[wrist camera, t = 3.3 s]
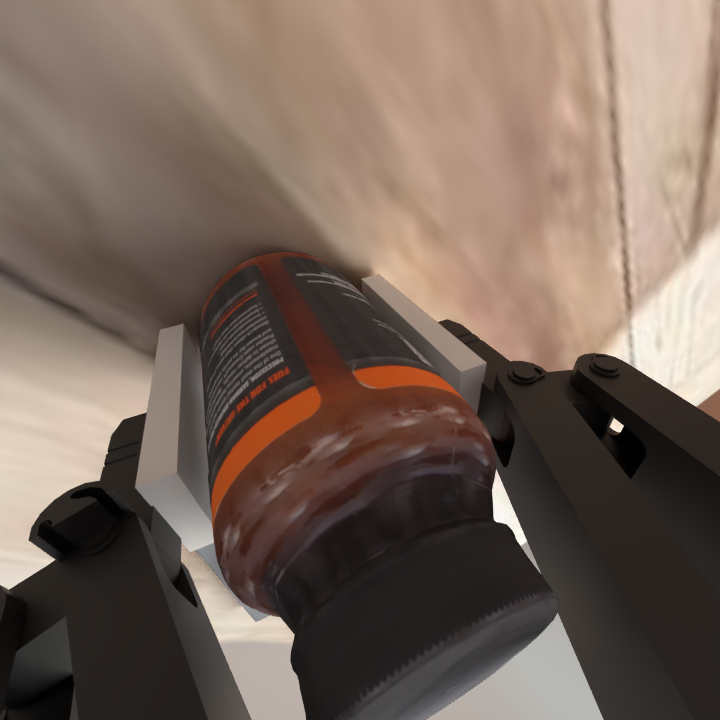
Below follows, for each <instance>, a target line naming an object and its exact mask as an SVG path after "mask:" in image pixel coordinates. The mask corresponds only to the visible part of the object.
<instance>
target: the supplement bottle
mask: <svg viewBox="0 0 720 720" xmlns="http://www.w3.org/2000/svg"><path fill="white" fill-rule="evenodd" d="M200 350H201V363H202V380H203V395H204V412H205V428H206V443H207V458H208V470H209V473H208V484H209V497H210V507H211V512H212V528H213V538H214V545H215V551H216V557H217V562H218V564H219V567H220V570H221V573H222V575H223V578H224V580H225V582H226V583H227V585H228V587H229V588H230V589H231V590H232V592H233V593H234V594H235V595H236V597H238V598H239V599H240V600H241V602H242V603H244V604H246V605H247V606H249V607H250V608H253V609H256V610H258V611H259V612H262V613H264V614H268V615H272V616H276V617H280V618H281V619H282V620H283V621H284V622H285V623H286V624H287V626H288V627H289V628H290V629H291V631H292V632H293V633H294V634H295V636H294V642H293V646H292V650H291V664H292V668H293V670H294V672H295V673H296V674H297V676H298V679H299V685H300V691H301V695H302V700H303V704H304V709H305V713H306V720H426V719H428V718H429V717H431V716H432V715H434V714H436V713H437V712H439V711H440V710H442V709H443V708H445V707H446V706H448V705H449V704H451V703H452V702H454V701H455V700H457V699H458V698H460V697H461V696H463V695H464V694H465V693H467V692H468V691H470V690H471V689H473V688H474V687H475V686H477V685H478V684H480V683H481V682H483V680H485V679H487V678H488V677H490V676H491V675H492V674H494V673H495V672H496V671H497V670H499V669H500V668H501V667H502V666H503V665H505V664H506V663H507V662H508V661H509V660H511V659H512V658H513V657H514V656H516V655H517V654H518V653H519V652H520V651H522V650H523V649H524V648H526V647H527V646H528V645H529V644H530V643H531V642H532V641H533V640H534V639H536V638H537V637H538V636H539V635H540V634H541V633H542V632H543V631H544V630H545V628H546V627H547V626H548V625H549V624H550V623H551V622H552V621H553V620H554V618H555V616H556V614H557V613H558V611H559V603H560V601H559V599H558V597H557V596H556V594H555V593H554V591H553V590H552V589H551V587H550V586H549V584H548V583H547V582H546V580H545V579H544V577H543V576H542V575H541V574H540V573H539V571H538V570H537V569H536V567H535V566H534V565H533V563H532V562H531V561H530V559H529V558H528V557H527V555H526V554H525V552H524V551H523V549H522V548H521V546H520V545H519V543H518V542H517V540H516V538H515V535H514V533H513V531H512V530H511V529H510V527H509V526H508V525H507V524H503V523H497V522H495V521H494V518H493V499H492V487H493V483H494V478H495V472H496V461H495V449H494V446H493V443H492V439H491V436H490V434H489V432H488V429H487V428H486V426H485V425H484V423H483V422H482V421H481V419H480V418H479V417H478V416H477V414H476V413H475V412H474V410H473V409H472V408H471V406H470V405H469V404H468V403H467V402H466V401H465V400H464V399H463V398H462V397H461V396H460V394H459V393H458V392H457V391H456V390H455V389H454V388H453V387H452V386H451V385H450V384H449V383H447V381H446V380H445V379H444V378H443V377H442V376H441V375H440V374H439V373H438V371H437V370H435V369H434V368H433V366H432V365H431V364H430V363H429V362H428V361H427V360H426V359H425V358H424V357H423V356H422V355H421V354H420V353H419V352H418V351H417V350H416V349H415V348H414V347H413V346H412V345H411V344H410V343H409V342H408V341H407V340H406V339H405V338H404V337H403V336H402V335H401V333H400V332H399V331H398V330H397V329H396V328H395V327H394V326H393V325H392V324H391V323H390V322H389V321H388V320H387V319H386V318H385V317H384V316H383V315H382V314H381V313H380V312H379V311H378V310H377V309H376V308H375V307H374V306H373V305H372V304H371V303H370V302H369V301H368V300H367V299H366V298H365V297H364V296H363V295H362V294H361V293H360V292H359V291H358V290H357V289H356V288H355V287H354V286H353V285H352V284H351V283H350V282H349V281H348V279H347V278H346V277H345V276H343V275H342V274H341V273H340V272H338V271H337V270H336V269H335V268H334V267H332V266H331V265H329V264H327V263H325V262H324V261H322V260H320V259H318V258H315V257H313V256H310V255H307V254H303V253H297V252H275V253H268V254H264V255H260V256H256V257H254V258H251V259H248V260H246V261H244V262H242V263H240V264H239V265H237V266H236V267H234V268H233V269H232V270H230V271H229V272H228V273H227V274H226V275H225V276H223V277H222V279H221V280H220V281H219V282H218V283H217V284H216V286H215V287H214V289H213V290H212V291H211V293H210V295H209V297H208V299H207V301H206V303H205V305H204V308H203V311H202V317H201V325H200Z"/></svg>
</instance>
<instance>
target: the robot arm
mask: <svg viewBox="0 0 720 720" xmlns="http://www.w3.org/2000/svg"><path fill="white" fill-rule="evenodd" d="M361 281H362V292H363V296H364V297H365V298H366V299H367V300H368V301H369V302H370V303H371V304H372V305H373V306H374V307H375V308H376V309H377V310H378V311H379V312H380V313H381V314H382V315H383V316H384V317H385V318H386V319H387V320H388V321H389V322H390V323H391V324H392V325H393V326H394V327H395V328H396V329H397V330H398V331H399V332H400V333H401V335H402V336H403V337H404V338H405V339H406V340H407V341H408V342H409V343H410V344H411V345H412V346H413V347H414V348H415V349H416V350H417V351H418V352H419V353H420V354H421V355H422V356H423V357H424V358H425V359H426V360H427V361H428V362H429V363H430V364H431V365H432V366H433V368H434V369H435V370H437V371H438V373H439V374H440V375H441V376H442V377H443V378H444V379H445V380H446V381H447V383H449V384H450V385H451V386H452V387H453V388H454V389H455V390H456V391H457V392H458V393H459V394H460V396H461V397H462V398H463V399H464V400H465V401H466V402H467V403H468V404H469V405H470V406H471V408H472V409H473V410H474V412H475V413H476V414H477V416H478V417H479V418H480V419H481V421H482V422H483V423H484V425H485V426H486V428H487V429H488V432H489V434H490V436H491V439H492V443H493V446H494V449H495V461H496V469H497V471H498V474H499V476H500V478H501V481H502V483H503V485H504V488H505V490H506V492H507V495H508V497H509V499H510V502H511V504H512V506H513V509H514V511H515V513H516V516H517V518H518V520H519V523H520V525H521V527H522V530H523V532H524V534H525V537H526V539H527V542H528V544H529V546H530V549H531V551H532V553H533V556H534V558H535V560H536V563H537V565H538V567H539V569H540V572H541V574H542V576H543V577H544V579H545V580H546V582H547V583H548V584H549V586H550V587H551V589H552V590H553V591H554V593H555V594H556V596H557V597H558V599H559V601H560V603H559V611H558V614H559V616H560V618H561V621H562V623H563V626H564V628H565V630H566V633H567V635H568V637H569V639H570V642H571V644H572V647H573V649H574V651H575V654H576V656H577V658H578V661H579V663H580V665H581V668H582V670H583V672H584V675H585V677H586V679H587V682H588V684H589V686H590V689H591V691H592V693H593V696H594V698H595V700H596V703H597V705H598V707H599V710H600V712H601V714H602V717H603V719H604V720H720V422H719V421H717V420H716V419H714V418H712V417H711V416H709V415H708V414H706V413H705V412H703V411H702V410H700V409H698V408H697V407H695V406H694V405H692V404H691V403H689V402H687V401H686V400H684V399H683V398H681V397H679V396H678V395H676V394H675V393H673V392H672V391H670V390H668V389H667V388H665V387H664V386H662V385H661V384H659V383H657V382H656V381H654V380H653V379H651V378H649V377H648V376H646V375H645V374H643V373H642V372H640V371H638V370H637V369H635V368H634V367H632V366H631V365H629V364H627V363H626V362H624V361H622V360H620V359H618V358H616V357H613V356H609V355H606V354H596V353H592V354H584V355H582V356H580V357H578V359H577V361H576V363H575V365H574V368H573V370H566V371H555V372H546V371H545V370H544V369H543V368H541V367H539V366H537V365H535V364H533V363H529V362H524V361H511V362H510V361H509V360H507V359H506V358H505V357H503V356H502V355H501V354H500V353H498V352H497V351H496V350H494V349H493V348H492V347H490V346H489V345H488V344H486V343H485V342H484V341H482V340H480V338H478V337H477V336H476V335H474V334H472V333H471V332H470V331H469V330H468V329H467V328H465V327H464V326H463V325H461V324H459V323H456V322H453V321H450V320H448V319H447V320H444V321H440V322H436V321H435V320H434V319H433V318H432V317H430V316H429V315H428V314H427V313H426V312H424V311H423V310H422V309H421V308H419V307H418V306H417V305H416V304H415V303H413V302H412V301H411V300H410V299H408V298H407V297H406V296H405V295H404V294H402V293H401V292H400V291H399V290H398V289H396V288H395V287H394V286H393V285H391V284H390V283H389V282H388V281H387V280H385V279H384V278H383V277H382V276H381V275H379V274H377V275H373V276H369V277H365V278H361ZM614 418H615V419H616V420H618V421H619V422H620V423H621V424H623V425H624V427H623V429H622V431H621V432H620V433H619V432H616V431H614V430H612V429H611V428H610V425H611V423H612V421H613V419H614ZM104 465H105V467H103V470H102V474H101V478H100V481H95V482H89V483H84V484H82V485H80V486H77V487H75V488H73V489H70V490H69V491H67V492H66V493H64V494H63V495H61V496H60V497H58V498H57V499H55V500H54V501H53V502H52V503H51V504H50V505H49V506H48V507H47V508H46V509H45V510H44V511H43V512H42V513H41V514H40V515H39V517H38V518H37V520H36V521H35V523H34V524H33V526H32V528H31V532H30V537H29V541H30V542H32V543H33V544H35V545H36V546H37V547H39V548H40V549H42V550H43V551H44V552H46V553H47V554H49V555H50V556H51V557H53V558H54V559H56V560H55V561H53V562H52V563H50V564H49V565H48V566H46V567H44V568H43V569H41V570H40V571H38V572H36V573H35V574H33V575H32V576H30V577H29V578H27V579H25V580H24V581H22V582H21V583H19V584H17V585H16V586H14V587H13V588H11V589H10V590H8V589H6V588H5V587H3V586H1V585H0V720H251V717H250V715H249V713H248V710H247V708H246V706H245V703H244V701H243V699H242V696H241V694H240V691H239V689H238V687H237V684H236V682H235V680H234V677H233V675H232V672H231V670H230V668H229V665H228V663H227V661H226V658H225V656H224V654H223V651H222V649H221V646H220V644H219V642H218V639H217V637H216V635H215V632H214V630H213V628H212V625H211V623H210V620H209V618H208V616H207V613H206V611H205V609H204V606H203V604H202V602H201V599H200V597H199V594H198V592H197V590H196V587H195V585H194V583H193V580H192V578H191V576H190V573H189V571H188V569H187V568H186V567H185V565H184V564H183V563H182V562H181V542H182V543H183V545H184V546H185V547H186V548H187V549H188V550H189V552H192V551H195V550H197V549H200V548H202V547H205V546H207V545H209V544H212V543H214V538H213V528H212V512H211V507H210V497H209V484H208V473H209V470H208V458H207V443H206V428H205V412H204V395H203V380H202V363H201V360H200V358H199V356H198V354H197V351H196V349H195V347H194V345H193V343H192V341H191V339H190V336H189V334H188V332H187V330H186V328H185V326H184V324H180V325H176V326H172V327H168V328H164V329H160V333H159V339H158V345H157V352H156V358H155V364H154V371H153V377H152V383H151V390H150V396H149V402H148V408H147V413H144V414H140V415H137V416H134V417H131V418H127V419H124V420H123V421H122V422H121V424H120V425H119V426H118V428H117V429H116V430H115V432H114V433H113V434H112V436H111V440H110V443H109V447H108V454H107V455H106V459H105V463H104Z"/></svg>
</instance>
